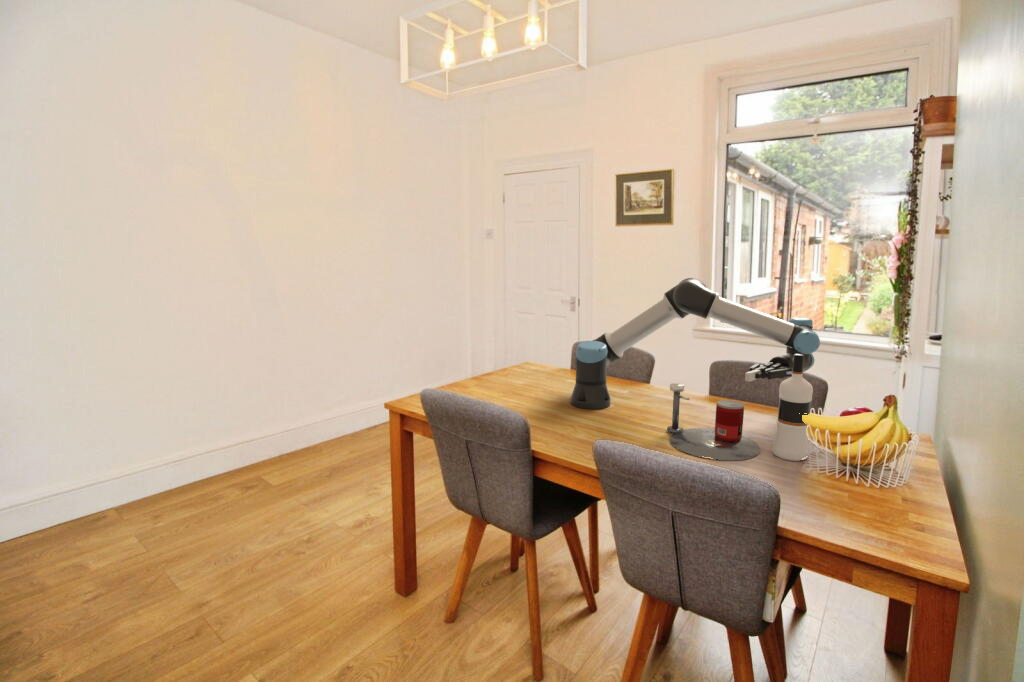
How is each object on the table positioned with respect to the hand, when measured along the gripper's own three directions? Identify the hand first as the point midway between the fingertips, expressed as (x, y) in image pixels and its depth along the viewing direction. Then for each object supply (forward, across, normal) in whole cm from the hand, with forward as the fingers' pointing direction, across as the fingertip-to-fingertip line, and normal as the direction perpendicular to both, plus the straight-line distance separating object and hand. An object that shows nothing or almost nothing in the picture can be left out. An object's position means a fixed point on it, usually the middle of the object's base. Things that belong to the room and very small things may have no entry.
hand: (747, 377), depth 169 cm
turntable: (+17, 0, -18) cm, 25 cm away
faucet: (+17, +14, -18) cm, 29 cm away
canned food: (+9, 0, -18) cm, 20 cm away
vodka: (+8, -18, -19) cm, 27 cm away
